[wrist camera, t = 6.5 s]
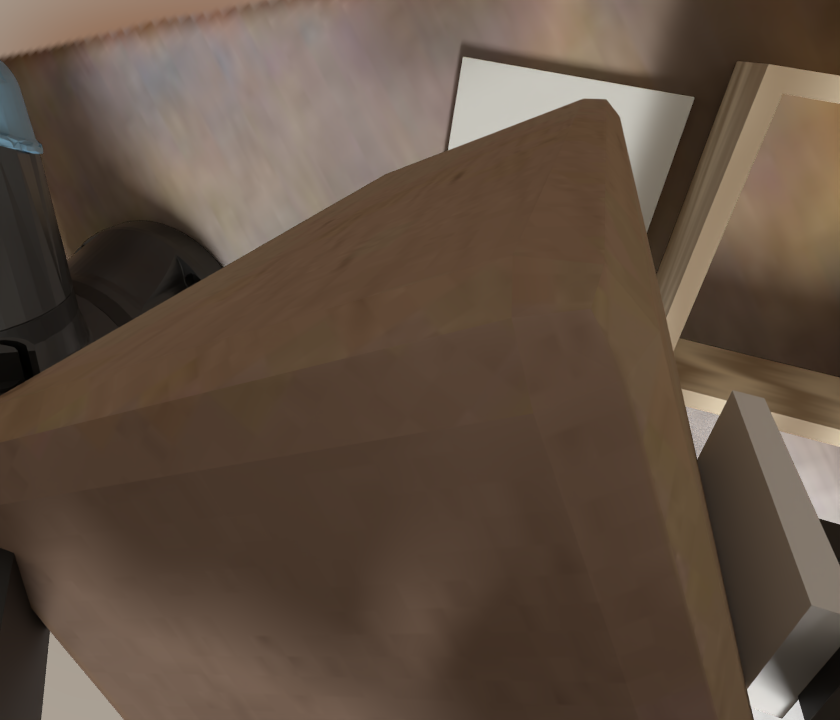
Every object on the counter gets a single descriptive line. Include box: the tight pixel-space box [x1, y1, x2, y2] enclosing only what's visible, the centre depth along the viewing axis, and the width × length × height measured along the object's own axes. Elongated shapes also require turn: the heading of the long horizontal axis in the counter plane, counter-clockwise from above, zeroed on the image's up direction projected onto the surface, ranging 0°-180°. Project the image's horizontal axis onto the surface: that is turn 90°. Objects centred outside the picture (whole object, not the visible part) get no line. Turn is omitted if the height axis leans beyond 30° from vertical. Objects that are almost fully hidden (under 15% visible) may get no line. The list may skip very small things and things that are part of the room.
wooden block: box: [0, 98, 754, 720], centre depth 16 cm, size 10×10×20 cm
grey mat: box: [448, 57, 694, 233], centre depth 36 cm, size 13×13×1 cm
